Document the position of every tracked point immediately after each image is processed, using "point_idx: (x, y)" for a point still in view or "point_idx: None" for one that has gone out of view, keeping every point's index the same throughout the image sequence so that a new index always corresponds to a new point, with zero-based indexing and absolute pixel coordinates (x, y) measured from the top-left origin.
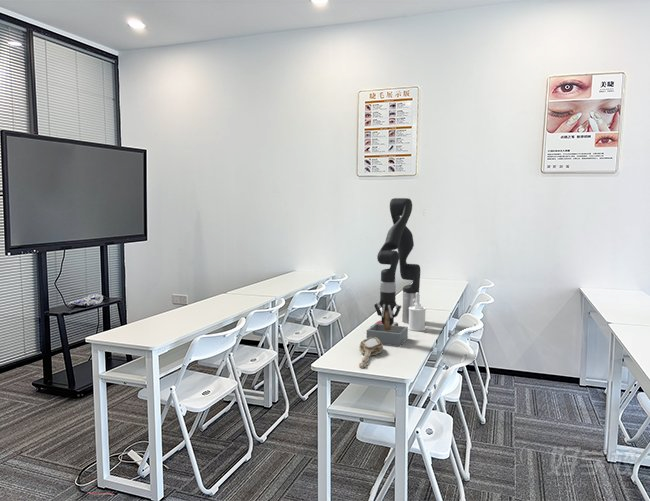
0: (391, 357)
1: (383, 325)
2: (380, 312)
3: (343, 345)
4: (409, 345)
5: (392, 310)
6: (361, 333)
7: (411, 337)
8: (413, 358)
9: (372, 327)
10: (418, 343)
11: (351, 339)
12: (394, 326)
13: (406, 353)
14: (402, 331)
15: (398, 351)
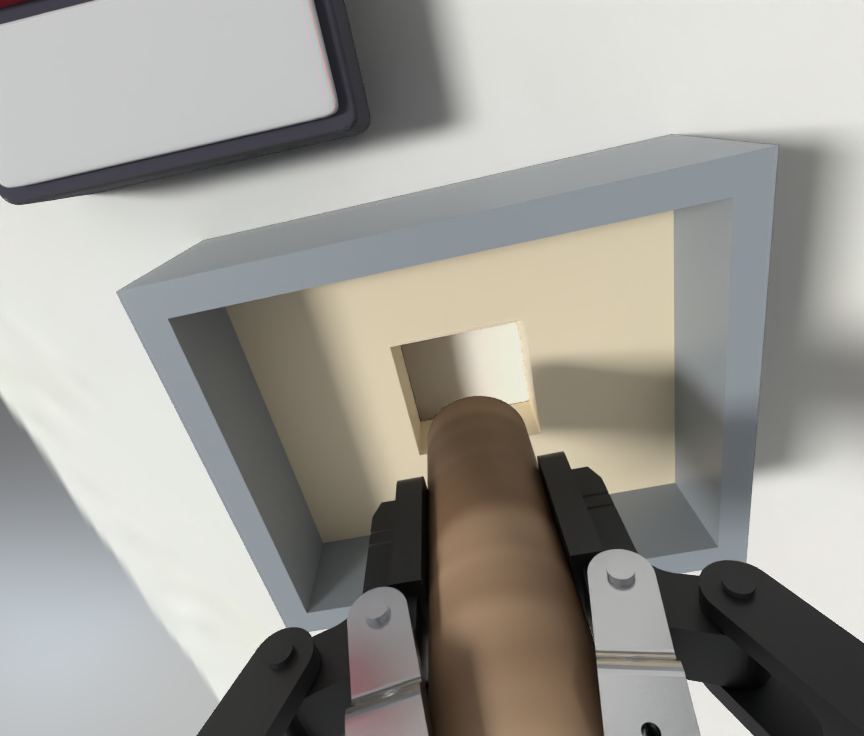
0: (688, 682)
1: (295, 287)
2: (295, 704)
3: (231, 669)
4: (762, 383)
5: (671, 733)
6: (33, 304)
7: (712, 36)
8: (857, 630)
9: (259, 510)
10: (858, 256)
11: (148, 534)
12: (507, 242)
13: (780, 576)
14: (746, 454)
15: (701, 571)
